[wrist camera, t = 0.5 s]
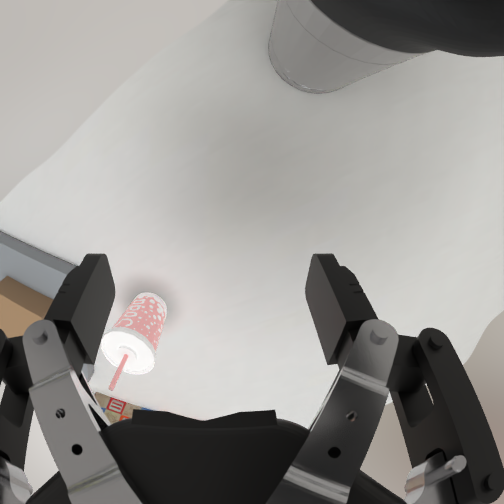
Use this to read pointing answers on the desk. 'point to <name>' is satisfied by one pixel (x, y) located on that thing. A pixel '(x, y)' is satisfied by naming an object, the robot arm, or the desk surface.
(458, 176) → the desk surface
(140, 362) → the beverage cup
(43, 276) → the tower base
